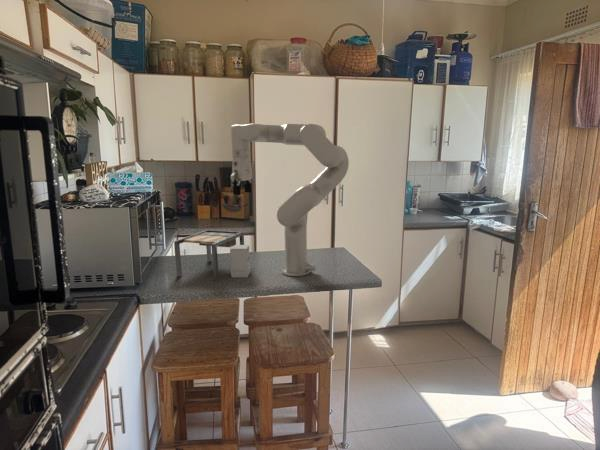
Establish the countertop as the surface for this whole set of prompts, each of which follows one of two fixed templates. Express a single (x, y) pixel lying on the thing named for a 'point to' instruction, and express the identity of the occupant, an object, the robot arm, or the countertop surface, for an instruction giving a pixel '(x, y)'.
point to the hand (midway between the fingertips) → (242, 193)
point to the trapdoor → (211, 239)
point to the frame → (214, 250)
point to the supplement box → (240, 260)
